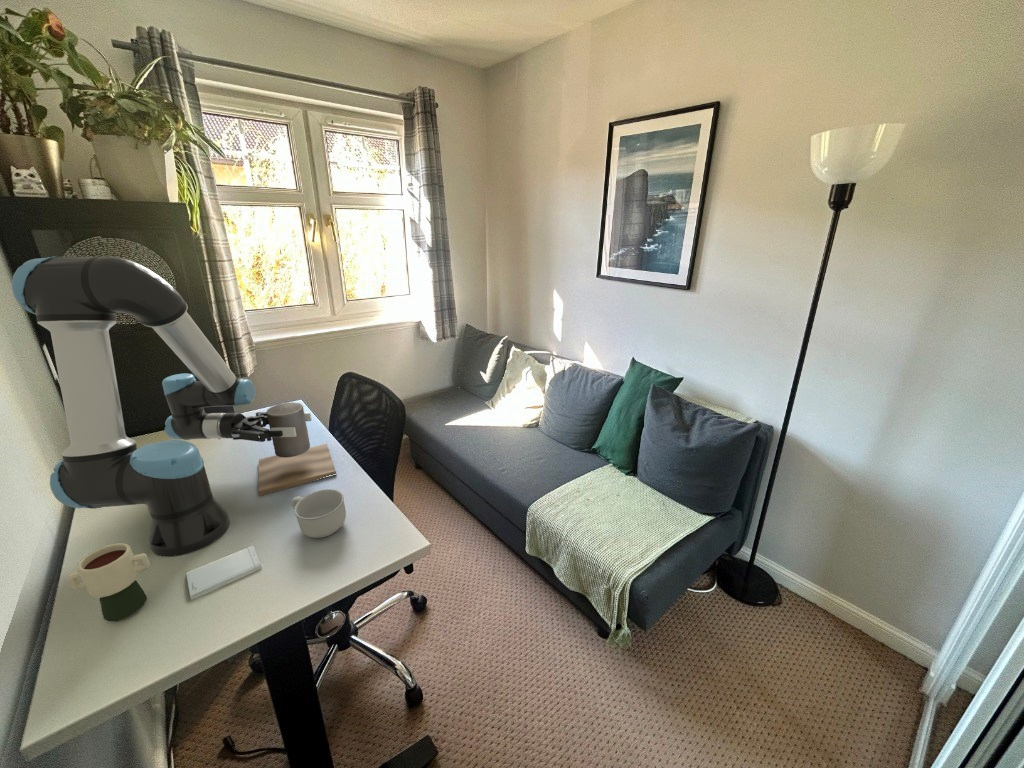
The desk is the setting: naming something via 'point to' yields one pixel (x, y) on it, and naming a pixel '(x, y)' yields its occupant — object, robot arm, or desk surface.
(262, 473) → the wooden board
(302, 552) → the desk surface
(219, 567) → the hard drive
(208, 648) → the desk surface
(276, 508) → the desk surface
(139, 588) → the character mug
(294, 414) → the pillar candle
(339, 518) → the teacup
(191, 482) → the robot arm
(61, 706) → the desk surface
